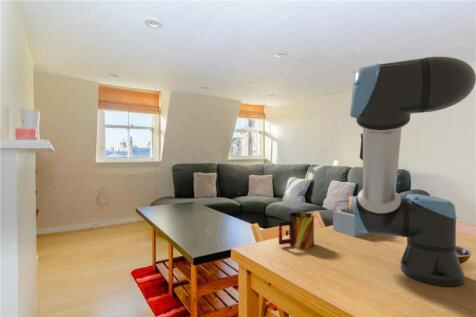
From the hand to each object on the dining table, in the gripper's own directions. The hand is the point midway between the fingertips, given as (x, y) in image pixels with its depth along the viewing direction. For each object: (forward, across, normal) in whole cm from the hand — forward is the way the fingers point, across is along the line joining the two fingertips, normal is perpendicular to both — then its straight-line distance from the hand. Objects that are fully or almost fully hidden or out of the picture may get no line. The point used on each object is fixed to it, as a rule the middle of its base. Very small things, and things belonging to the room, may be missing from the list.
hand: (375, 176), depth 104 cm
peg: (+21, +7, +16) cm, 27 cm away
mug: (+27, -28, +13) cm, 42 cm away
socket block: (+27, +7, +16) cm, 32 cm away
